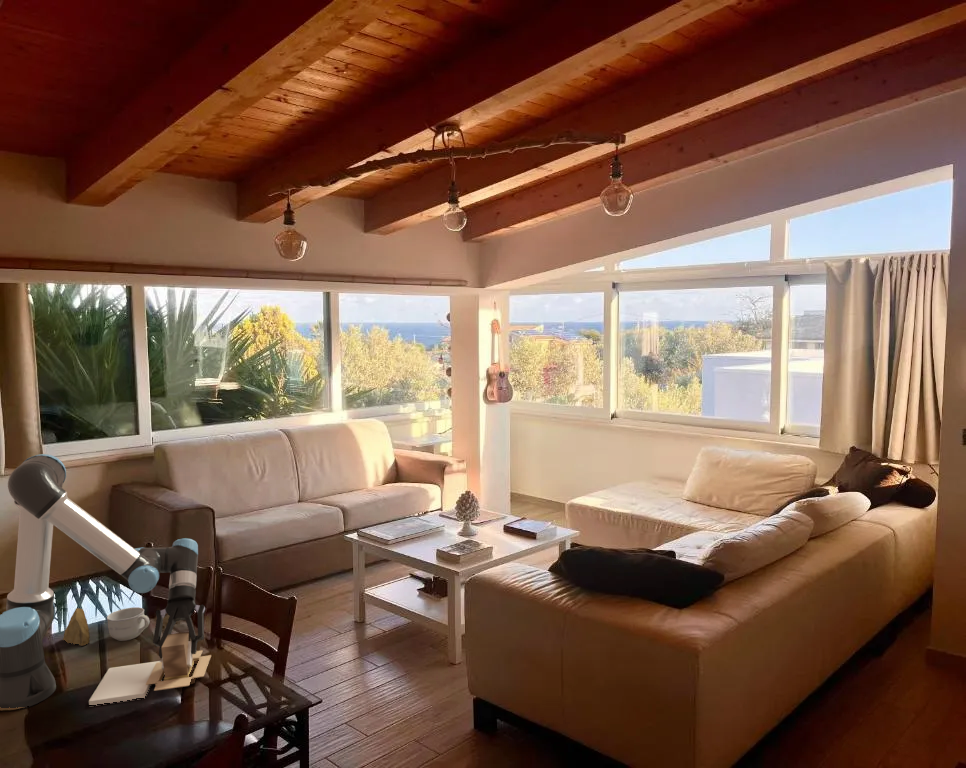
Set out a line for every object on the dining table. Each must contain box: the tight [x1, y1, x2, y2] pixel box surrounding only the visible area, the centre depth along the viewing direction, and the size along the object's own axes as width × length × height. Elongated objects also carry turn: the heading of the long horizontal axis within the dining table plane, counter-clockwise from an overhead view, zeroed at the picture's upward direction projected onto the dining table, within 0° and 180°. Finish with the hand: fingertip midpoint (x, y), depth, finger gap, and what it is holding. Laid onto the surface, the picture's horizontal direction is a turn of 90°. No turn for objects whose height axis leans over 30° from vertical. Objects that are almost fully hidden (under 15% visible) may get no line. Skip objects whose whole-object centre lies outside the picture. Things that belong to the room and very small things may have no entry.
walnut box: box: [161, 631, 194, 681], centre depth 211 cm, size 6×8×11 cm
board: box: [88, 660, 161, 706], centre depth 208 cm, size 14×18×2 cm
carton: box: [146, 650, 212, 691], centre depth 212 cm, size 15×20×2 cm
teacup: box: [106, 607, 151, 642], centre depth 238 cm, size 14×11×8 cm
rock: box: [62, 607, 91, 646], centre depth 237 cm, size 11×9×10 cm
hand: (176, 667), depth 209 cm, fingers closed on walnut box, 6 cm apart
